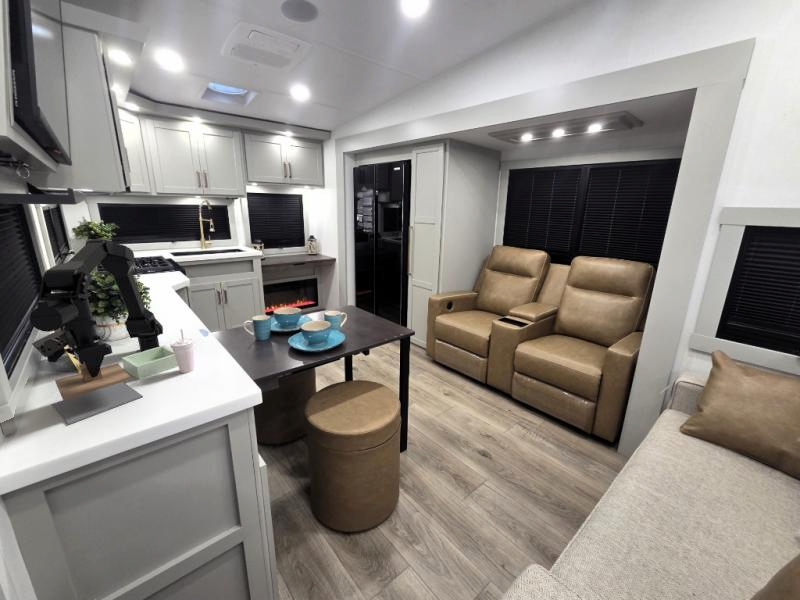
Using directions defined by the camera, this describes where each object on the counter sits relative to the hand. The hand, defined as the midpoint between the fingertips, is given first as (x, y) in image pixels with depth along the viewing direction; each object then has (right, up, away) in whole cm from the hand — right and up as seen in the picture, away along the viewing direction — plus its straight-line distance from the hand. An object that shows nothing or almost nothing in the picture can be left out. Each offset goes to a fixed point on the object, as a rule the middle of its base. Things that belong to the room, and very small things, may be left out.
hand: (92, 374), depth 88 cm
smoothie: (+13, -3, +19) cm, 23 cm away
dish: (0, -3, +21) cm, 22 cm away
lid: (0, -2, 0) cm, 2 cm away
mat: (0, -7, +2) cm, 8 cm away
